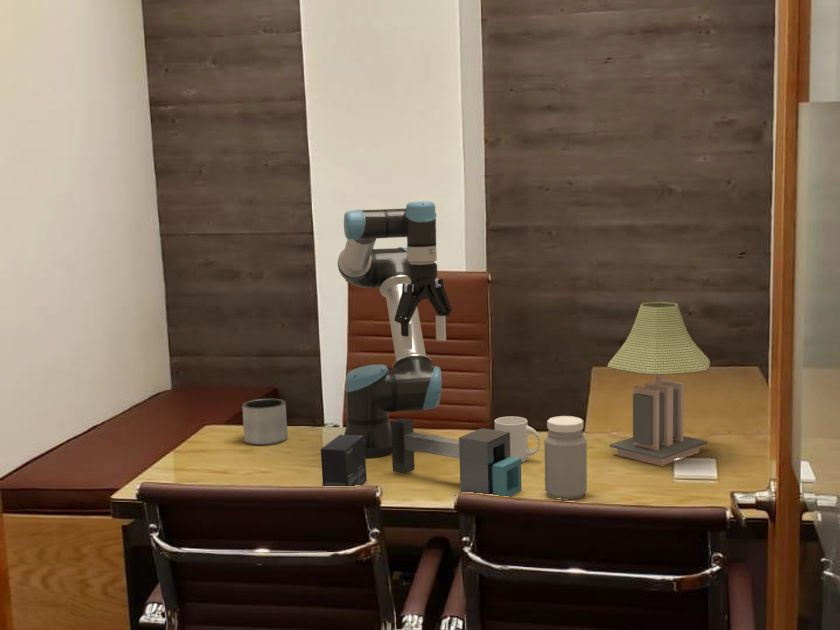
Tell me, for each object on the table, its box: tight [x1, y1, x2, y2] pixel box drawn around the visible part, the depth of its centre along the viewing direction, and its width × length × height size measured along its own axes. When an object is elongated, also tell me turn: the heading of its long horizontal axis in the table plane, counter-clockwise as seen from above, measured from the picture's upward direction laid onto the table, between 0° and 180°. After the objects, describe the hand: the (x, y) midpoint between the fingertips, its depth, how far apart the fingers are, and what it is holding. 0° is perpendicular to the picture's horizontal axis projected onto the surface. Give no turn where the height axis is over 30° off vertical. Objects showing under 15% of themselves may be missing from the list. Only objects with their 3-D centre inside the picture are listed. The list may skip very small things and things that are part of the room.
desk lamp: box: [607, 301, 711, 467], centre depth 270 cm, size 26×28×40 cm
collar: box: [492, 457, 522, 497], centre depth 243 cm, size 3×8×8 cm, turn 144°
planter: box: [242, 397, 288, 446], centre depth 297 cm, size 12×13×11 cm
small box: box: [320, 434, 368, 487], centre depth 251 cm, size 13×7×12 cm, turn 163°
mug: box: [494, 416, 541, 464], centre depth 270 cm, size 9×12×11 cm
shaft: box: [390, 417, 460, 475], centre depth 254 cm, size 28×4×13 cm, turn 54°
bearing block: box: [458, 427, 510, 494], centre depth 246 cm, size 8×10×14 cm
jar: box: [543, 415, 588, 500], centre depth 241 cm, size 10×10×18 cm
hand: (424, 344), depth 265 cm, fingers open, 13 cm apart
